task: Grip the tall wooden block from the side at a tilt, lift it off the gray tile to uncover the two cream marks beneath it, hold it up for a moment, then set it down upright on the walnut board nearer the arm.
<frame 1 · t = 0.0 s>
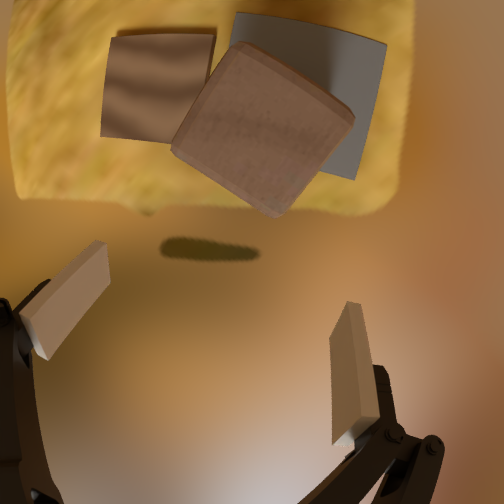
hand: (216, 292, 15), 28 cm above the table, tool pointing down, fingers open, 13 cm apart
gray tile: (298, 91, 33), on the table
wooden block: (277, 116, 35), resting on gray tile
walnut board: (154, 86, 35), on the table
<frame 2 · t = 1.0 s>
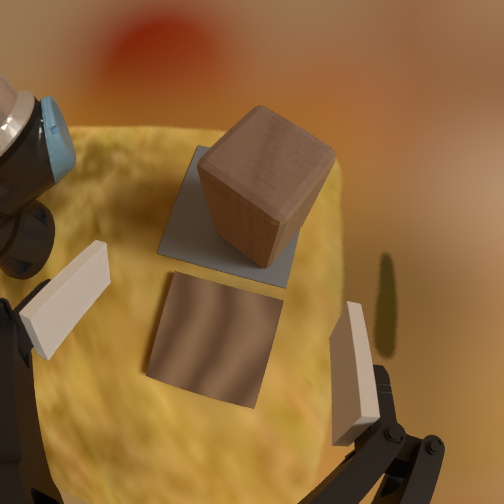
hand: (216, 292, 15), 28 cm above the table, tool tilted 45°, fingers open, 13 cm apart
gray tile: (237, 209, 46), on the table
wooden block: (259, 227, 45), resting on gray tile
walnut board: (214, 340, 41), on the table
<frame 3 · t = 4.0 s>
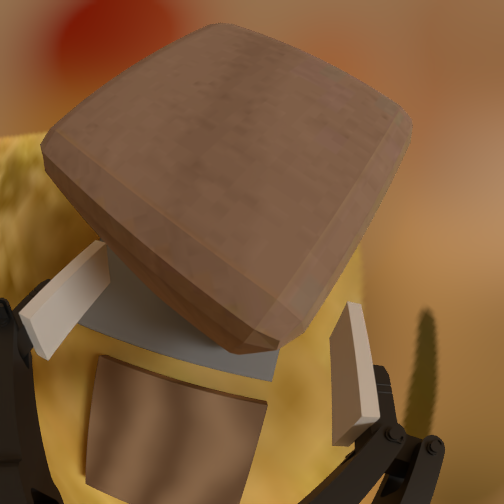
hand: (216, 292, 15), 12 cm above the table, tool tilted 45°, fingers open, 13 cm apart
gray tile: (191, 252, 28), on the table
wooden block: (226, 281, 27), point 1 cm above the table, touching gray tile
walnut board: (166, 451, 23), on the table
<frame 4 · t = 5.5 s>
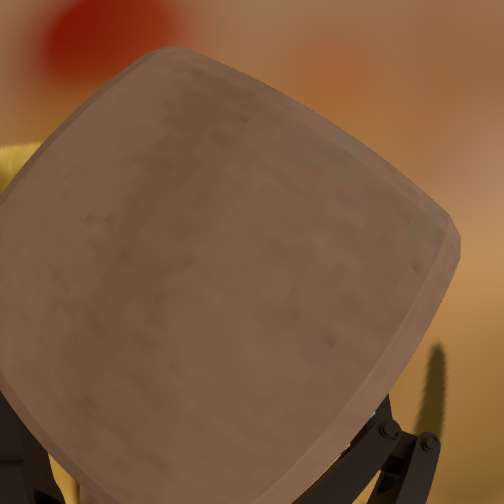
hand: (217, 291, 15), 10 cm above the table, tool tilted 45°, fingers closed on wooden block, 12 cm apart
wooden block: (225, 317, 24), resting on gray tile, touching gripper
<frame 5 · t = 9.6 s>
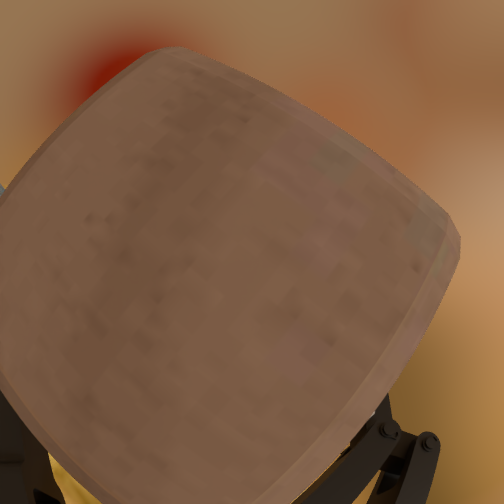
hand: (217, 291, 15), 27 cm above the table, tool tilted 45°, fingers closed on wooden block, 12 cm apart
wooden block: (225, 317, 24), point 18 cm above the table, touching gripper
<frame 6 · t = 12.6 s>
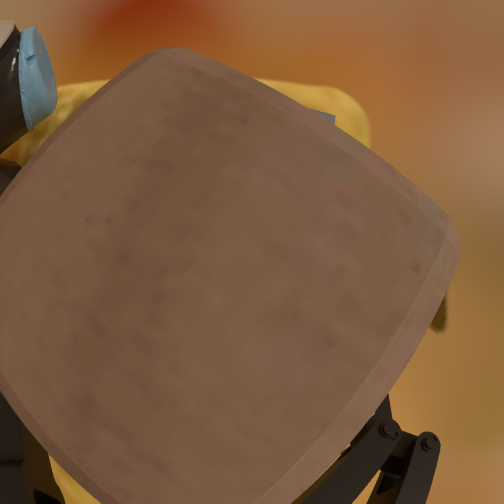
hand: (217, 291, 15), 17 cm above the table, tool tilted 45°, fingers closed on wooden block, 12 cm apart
wooden block: (225, 317, 24), point 7 cm above the table, touching gripper
when the fingers open (13 cm above the table, at t = 14.2 s): wooden block drops 2 cm, point 1 cm above the table.
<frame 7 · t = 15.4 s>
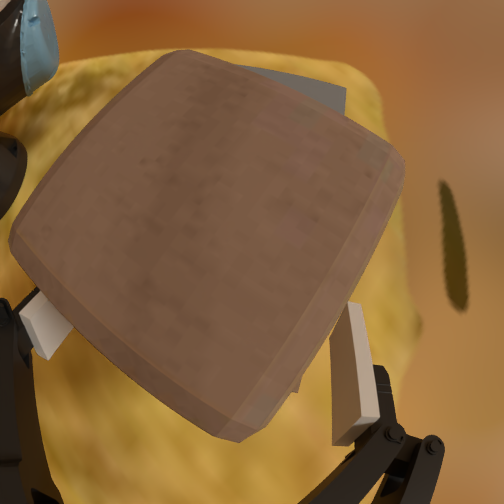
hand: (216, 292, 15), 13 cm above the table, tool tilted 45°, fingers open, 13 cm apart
gray tile: (260, 121, 33), on the table
wooden block: (230, 289, 27), point 1 cm above the table
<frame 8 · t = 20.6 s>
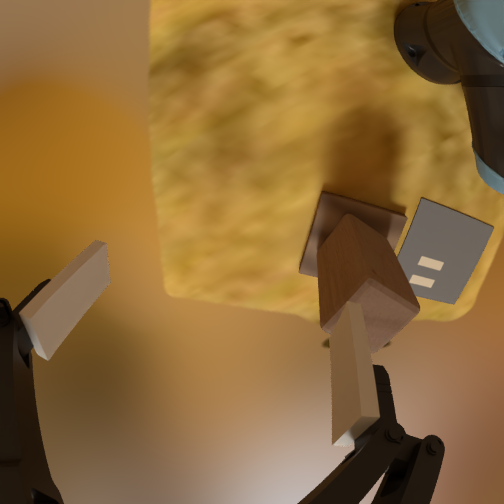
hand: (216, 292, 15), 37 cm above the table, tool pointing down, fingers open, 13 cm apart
gray tile: (441, 257, 50), on the table
wooden block: (351, 245, 51), point 1 cm above the table, touching walnut board
walnut board: (351, 242, 52), on the table
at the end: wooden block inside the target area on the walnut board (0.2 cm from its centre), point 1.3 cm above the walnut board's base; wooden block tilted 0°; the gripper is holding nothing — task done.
